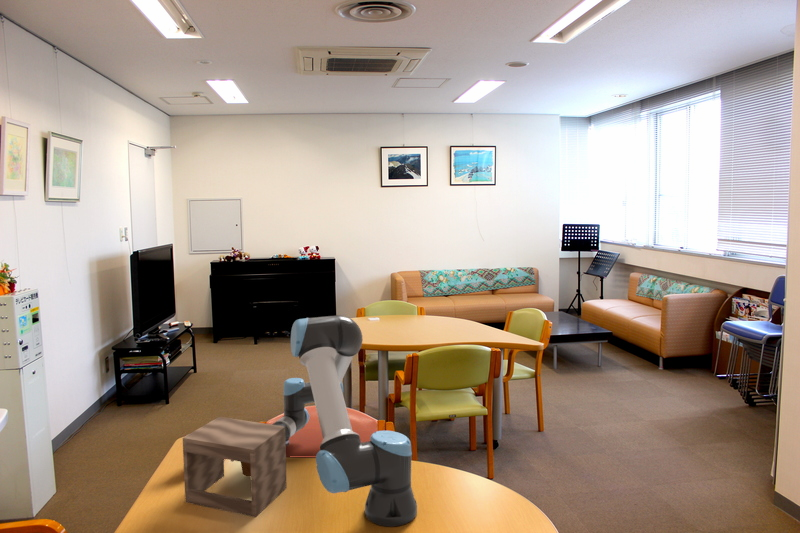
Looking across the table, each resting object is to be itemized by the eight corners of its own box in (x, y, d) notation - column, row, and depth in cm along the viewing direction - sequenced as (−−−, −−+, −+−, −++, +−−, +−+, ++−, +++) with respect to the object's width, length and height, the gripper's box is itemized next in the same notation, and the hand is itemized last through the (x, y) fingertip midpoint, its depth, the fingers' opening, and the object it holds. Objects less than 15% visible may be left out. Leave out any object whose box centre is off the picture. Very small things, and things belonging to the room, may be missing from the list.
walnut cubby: (221, 475, 180) (219, 416, 178) (286, 488, 173) (285, 426, 170) (185, 502, 164) (182, 437, 162) (255, 517, 156) (253, 449, 154)
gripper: (307, 445, 191) (272, 476, 169) (255, 437, 197) (215, 465, 176) (307, 424, 190) (272, 452, 168) (254, 417, 196) (215, 443, 175)
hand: (243, 459), depth 172 cm, fingers closed on disposable coffee cup, 8 cm apart
